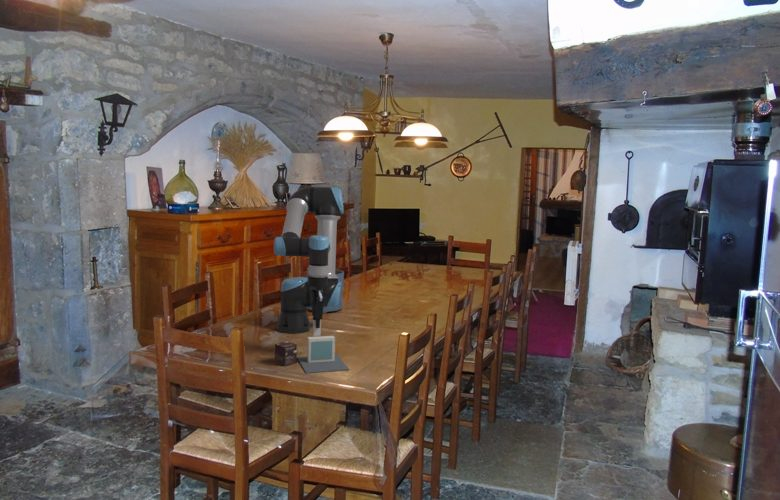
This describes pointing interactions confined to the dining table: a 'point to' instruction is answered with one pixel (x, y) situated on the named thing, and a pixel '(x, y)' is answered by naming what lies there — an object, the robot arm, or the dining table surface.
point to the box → (285, 353)
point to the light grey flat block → (321, 349)
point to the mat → (322, 365)
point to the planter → (340, 278)
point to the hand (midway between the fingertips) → (316, 335)
